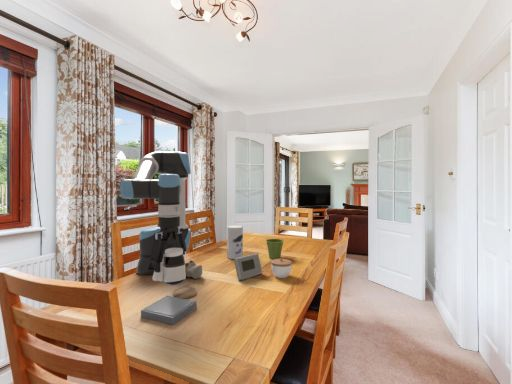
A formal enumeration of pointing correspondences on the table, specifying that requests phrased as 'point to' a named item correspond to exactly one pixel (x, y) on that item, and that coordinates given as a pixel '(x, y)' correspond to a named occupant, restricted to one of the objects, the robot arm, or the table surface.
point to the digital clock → (248, 266)
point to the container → (234, 242)
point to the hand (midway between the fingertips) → (169, 275)
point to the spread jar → (173, 267)
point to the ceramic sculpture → (193, 270)
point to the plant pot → (274, 248)
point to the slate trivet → (169, 309)
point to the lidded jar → (281, 267)
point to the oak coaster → (185, 292)
